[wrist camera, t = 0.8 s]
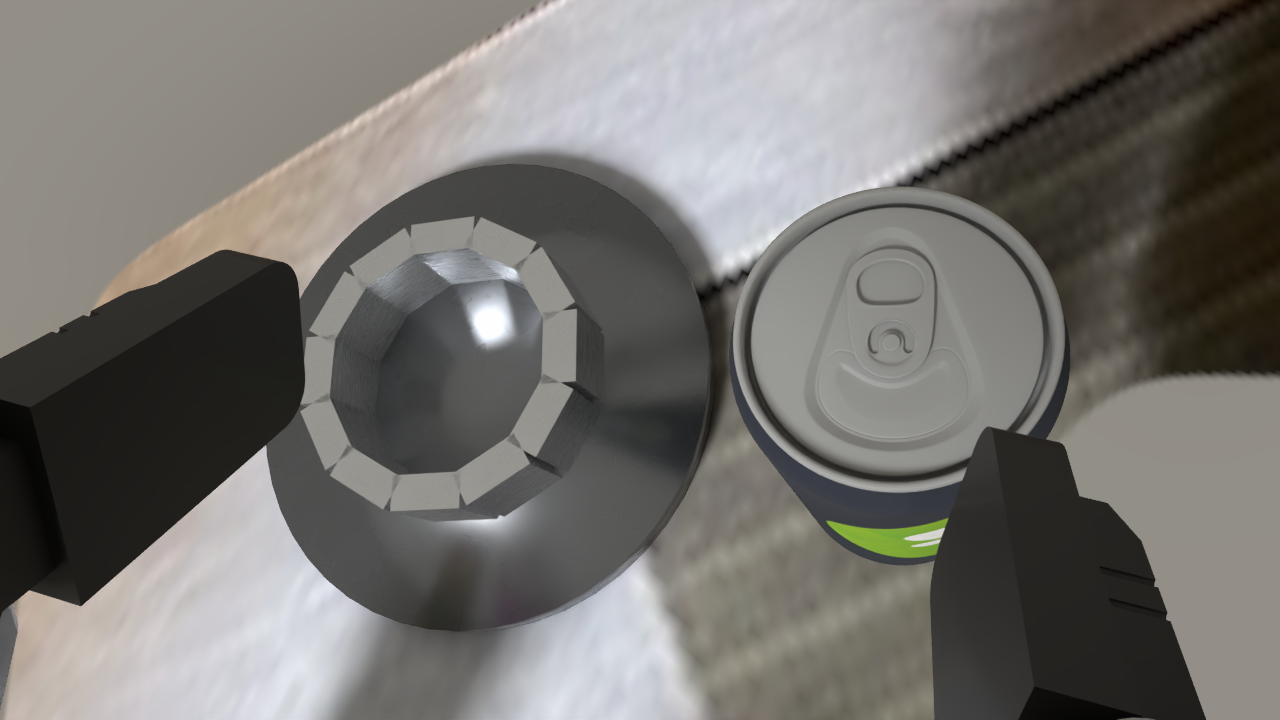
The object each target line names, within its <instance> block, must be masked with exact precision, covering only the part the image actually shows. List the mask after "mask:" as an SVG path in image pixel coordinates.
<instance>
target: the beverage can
mask: <svg viewBox="0 0 1280 720" xmlns="http://www.w3.org/2000/svg"><path fill="white" fill-rule="evenodd" d="M729 362H730V375H731V382H732V387H733V392H734V395H735V399H736V402H737V405H738V408H739V411H740V413H741V416H742V418H743V420H744V422H745V424H746V426H747V428H748V430H749V432H750V434H751V435H752V437H753V438H754V440H755V441H756V443H757V444H758V446H759V447H760V449H761V450H762V451H763V452H764V454H765V455H766V456H767V458H768V459H769V460H770V461H771V463H772V464H773V465H774V467H775V468H776V469H777V470H778V472H779V473H780V474H781V476H782V477H783V478H784V479H785V481H786V482H787V483H788V485H789V486H790V487H791V488H792V490H793V491H794V492H795V493H796V495H797V496H798V497H799V499H800V500H801V501H802V502H803V504H804V505H805V506H806V508H807V509H808V510H809V511H810V513H811V514H812V515H813V517H814V518H815V519H816V520H817V522H818V523H819V524H820V526H821V527H822V528H823V529H824V530H825V531H826V532H827V533H828V534H829V535H830V536H831V537H832V538H833V539H834V540H835V541H836V542H838V543H839V544H840V545H842V546H843V547H845V548H846V549H848V550H849V551H851V552H853V553H855V554H857V555H859V556H861V557H864V558H866V559H869V560H872V561H876V562H879V563H884V564H891V565H915V564H922V563H927V562H931V561H934V560H935V558H936V554H937V550H938V547H939V543H940V540H941V537H942V535H943V532H944V529H945V526H946V524H947V521H948V518H949V516H950V513H951V510H952V507H953V505H954V502H955V499H956V496H957V494H958V491H959V488H960V486H961V483H962V480H963V477H964V475H965V472H966V469H967V467H968V464H969V461H970V458H971V456H972V453H973V450H974V448H975V445H976V442H977V440H978V438H979V436H980V434H981V433H982V431H983V430H984V429H985V428H986V427H988V426H989V427H994V428H998V429H1002V430H1007V431H1011V432H1015V433H1020V434H1024V435H1028V436H1033V437H1037V438H1041V439H1046V438H1047V437H1048V435H1049V433H1050V432H1051V430H1052V428H1053V426H1054V424H1055V422H1056V420H1057V418H1058V415H1059V413H1060V410H1061V408H1062V405H1063V402H1064V398H1065V394H1066V391H1067V386H1068V380H1069V372H1070V344H1069V336H1068V330H1067V325H1066V322H1065V318H1064V314H1063V311H1062V306H1061V302H1060V299H1059V295H1058V292H1057V289H1056V287H1055V284H1054V282H1053V280H1052V277H1051V275H1050V273H1049V271H1048V270H1047V268H1046V266H1045V264H1044V263H1043V261H1042V259H1041V258H1040V257H1039V255H1038V254H1037V252H1036V251H1035V250H1034V248H1033V247H1032V246H1031V245H1030V244H1029V242H1028V241H1027V240H1026V239H1025V238H1024V237H1023V236H1022V235H1021V234H1020V233H1019V232H1018V231H1017V230H1016V229H1015V228H1013V227H1012V226H1011V225H1010V224H1008V223H1007V222H1006V221H1005V220H1003V219H1002V218H1000V217H999V216H998V215H996V214H994V213H993V212H991V211H990V210H988V209H986V208H984V207H982V206H980V205H979V204H976V203H974V202H972V201H970V200H967V199H965V198H962V197H959V196H956V195H953V194H950V193H946V192H942V191H937V190H932V189H926V188H918V187H884V188H876V189H869V190H864V191H860V192H856V193H852V194H848V195H845V196H842V197H839V198H837V199H834V200H832V201H829V202H827V203H825V204H823V205H821V206H819V207H817V208H815V209H813V210H811V211H810V212H808V213H807V214H805V215H803V216H802V217H800V218H799V219H798V220H796V221H795V222H794V223H792V224H791V225H790V226H789V227H787V228H786V229H785V230H784V231H783V232H782V233H781V234H780V235H779V236H778V237H777V238H776V239H775V240H774V241H773V242H772V243H771V244H770V245H769V246H768V247H767V249H766V250H765V251H764V253H763V254H762V255H761V256H760V258H759V259H758V261H757V262H756V264H755V266H754V267H753V269H752V271H751V273H750V274H749V277H748V279H747V281H746V283H745V285H744V288H743V290H742V293H741V296H740V299H739V302H738V306H737V310H736V315H735V319H734V323H733V327H732V332H731V339H730V351H729Z"/></svg>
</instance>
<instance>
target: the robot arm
mask: <svg viewBox="0 0 1280 720" xmlns="http://www.w3.org/2000/svg"><path fill="white" fill-rule="evenodd" d="M304 389H305V365H304V352H303V339H302V326H301V312H300V299H299V287H298V281H297V277H296V275H295V272H294V271H293V269H292V268H291V267H290V266H289V265H288V264H286V263H284V262H280V261H275V260H271V259H267V258H262V257H258V256H254V255H249V254H245V253H240V252H236V251H232V250H221V251H218V252H216V253H214V254H212V255H210V256H208V257H206V258H204V259H202V260H201V261H199V262H197V263H195V264H193V265H191V266H189V267H187V268H185V269H184V270H182V271H180V272H178V273H176V274H174V275H172V276H170V277H168V278H167V279H165V280H163V281H161V282H159V283H157V284H155V285H151V286H147V287H144V288H140V289H137V290H133V291H129V292H127V293H125V294H123V295H121V296H119V297H117V298H115V299H113V300H112V301H110V302H108V303H106V304H104V305H102V306H100V307H98V308H96V309H94V310H92V311H91V314H90V316H89V317H88V316H84V315H83V316H81V317H79V318H77V319H75V320H73V321H72V322H70V323H67V324H65V325H64V326H62V327H60V331H59V332H58V333H55V332H50V333H48V334H46V335H44V336H42V337H41V338H39V339H37V340H35V341H33V342H31V343H29V344H27V345H25V346H23V347H21V348H19V349H18V350H16V351H14V352H12V353H10V354H8V355H6V356H4V357H2V358H0V709H1V705H2V700H3V696H4V691H5V687H6V682H7V677H8V673H9V668H10V664H11V659H12V655H13V650H14V646H15V641H16V637H17V631H18V622H17V617H16V614H15V611H14V607H13V603H14V602H15V601H16V600H18V599H19V598H20V597H21V596H23V595H24V594H25V593H26V592H28V591H29V590H31V591H34V592H37V593H40V594H43V595H47V596H50V597H53V598H56V599H59V600H63V601H66V602H69V603H72V604H75V605H79V606H82V605H83V604H84V603H85V602H86V601H88V600H89V599H90V598H91V597H92V596H93V595H94V594H96V593H97V592H98V591H99V590H100V589H101V588H103V587H104V586H105V585H106V584H107V583H108V582H109V581H111V580H112V579H113V578H114V577H115V576H116V575H117V574H119V573H120V572H121V571H122V570H123V569H124V568H125V567H127V566H128V565H129V564H130V563H131V562H132V561H133V560H135V559H136V558H137V557H138V556H139V555H140V554H141V553H143V552H144V551H145V550H146V549H147V548H148V547H149V546H151V545H152V544H153V543H154V542H155V541H156V540H157V539H159V538H160V537H161V536H162V535H163V534H164V533H165V532H167V531H168V530H169V529H170V528H171V527H172V526H173V525H175V524H176V523H177V522H178V521H179V520H180V519H182V518H183V517H184V516H185V515H186V514H187V513H188V512H190V511H191V510H192V509H193V508H194V507H195V506H196V505H198V504H199V503H200V502H201V501H202V500H203V499H204V498H206V497H207V496H208V495H209V494H210V493H211V492H212V491H214V490H215V489H216V488H217V487H218V486H219V485H220V484H222V483H223V482H224V481H225V480H226V479H227V478H228V477H230V476H231V475H232V474H233V473H234V472H235V471H236V470H238V469H239V468H240V467H241V466H242V465H243V464H244V463H246V462H247V461H248V460H249V459H250V458H251V457H252V456H254V455H255V454H256V453H257V452H258V451H259V450H261V449H262V448H263V447H264V446H265V445H266V444H267V443H269V442H270V441H271V440H272V439H273V438H274V437H275V436H277V435H278V434H279V433H280V432H281V431H282V430H283V429H285V428H286V427H287V426H288V425H289V423H290V422H291V421H292V419H293V418H294V416H295V415H296V413H297V411H298V409H299V406H300V404H301V401H302V398H303V394H304ZM1154 582H1155V577H1154V575H1153V572H1152V569H1151V566H1150V564H1149V561H1148V558H1147V555H1146V553H1145V550H1144V547H1143V544H1142V542H1141V540H1140V539H1139V538H1138V537H1137V536H1136V535H1135V533H1134V532H1133V531H1132V530H1131V529H1130V528H1129V527H1128V526H1127V524H1126V523H1125V522H1124V521H1123V520H1122V519H1121V518H1120V517H1119V516H1118V514H1117V513H1116V512H1115V511H1114V510H1113V509H1112V508H1111V507H1110V506H1109V504H1108V503H1105V502H1101V501H1096V500H1092V499H1088V498H1084V497H1080V496H1079V494H1078V490H1077V487H1076V483H1075V480H1074V476H1073V473H1072V469H1071V466H1070V463H1069V459H1068V456H1067V452H1066V449H1065V447H1064V445H1063V444H1061V443H1059V442H1054V441H1050V440H1046V439H1041V438H1037V437H1033V436H1028V435H1024V434H1020V433H1015V432H1011V431H1007V430H1002V429H998V428H994V427H989V426H988V427H986V428H985V429H984V430H983V431H982V433H981V434H980V436H979V438H978V440H977V442H976V445H975V448H974V450H973V453H972V456H971V458H970V461H969V464H968V467H967V469H966V472H965V475H964V477H963V480H962V483H961V486H960V488H959V491H958V494H957V496H956V499H955V502H954V505H953V507H952V510H951V513H950V516H949V518H948V521H947V524H946V526H945V529H944V532H943V535H942V537H941V540H940V543H939V547H938V550H937V554H936V558H935V563H934V568H933V573H932V580H931V591H930V607H931V634H932V661H933V688H934V715H935V720H1206V718H1205V715H1204V712H1203V709H1202V707H1201V704H1200V701H1199V699H1198V696H1197V693H1196V690H1195V687H1194V685H1193V682H1192V679H1191V677H1190V674H1189V671H1188V668H1187V665H1186V663H1185V660H1184V657H1183V654H1182V652H1181V649H1180V646H1179V644H1178V641H1177V638H1176V635H1175V632H1174V630H1173V627H1172V624H1171V622H1170V621H1167V620H1166V615H1167V610H1166V608H1165V605H1164V602H1163V599H1162V597H1161V594H1160V591H1159V589H1158V588H1157V587H1154Z"/></svg>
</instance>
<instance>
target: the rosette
mask: <svg viewBox="0 0 1280 720" xmlns="http://www.w3.org/2000/svg"><path fill="white" fill-rule="evenodd" d="M300 312H301V326H302V339H303V352H304V365H305V389H304V394H303V398H302V401H301V404H300V406H299V409H298V411H297V413H296V415H295V416H294V418H293V419H292V421H291V422H290V423H289V425H288V426H287V427H286V428H285V429H283V430H282V431H281V432H280V433H279V434H278V435H277V436H275V437H274V438H273V439H272V440H271V441H270V442H269V443H267V444H266V447H267V458H268V464H269V469H270V475H271V480H272V485H273V488H274V491H275V494H276V497H277V500H278V504H279V507H280V510H281V512H282V514H283V516H284V518H285V520H286V523H287V525H288V527H289V529H290V531H291V533H292V535H293V537H294V538H295V540H296V541H297V543H298V544H299V546H300V547H301V549H302V550H303V552H304V553H305V555H306V556H307V558H308V559H309V560H310V561H311V563H312V564H313V565H314V566H315V567H316V568H317V569H318V570H319V571H320V573H321V574H322V575H323V576H324V577H325V578H326V579H327V580H328V581H329V582H330V583H332V584H333V585H334V586H335V587H336V588H338V589H339V590H340V591H341V592H343V593H344V594H345V595H346V596H347V597H349V598H350V599H352V600H354V601H355V602H357V603H359V604H361V605H362V606H364V607H366V608H367V609H369V610H371V611H372V612H375V613H377V614H380V615H382V616H385V617H387V618H390V619H392V620H395V621H397V622H400V623H404V624H409V625H413V626H418V627H422V628H427V629H435V630H450V631H484V630H496V629H506V628H511V627H515V626H519V625H524V624H528V623H532V622H536V621H539V620H542V619H544V618H547V617H549V616H552V615H554V614H557V613H560V612H562V611H565V610H567V609H569V608H571V607H572V606H574V605H576V604H578V603H580V602H581V601H583V600H585V599H587V598H589V597H590V596H592V595H594V594H596V593H597V592H598V591H600V590H601V589H602V588H604V587H605V586H606V585H608V584H609V583H610V582H612V581H613V580H614V579H616V578H617V577H618V576H620V575H621V574H622V573H623V572H624V571H625V570H626V569H627V568H628V567H630V566H631V565H632V564H633V563H634V562H635V561H636V560H637V559H638V558H639V557H640V556H641V555H642V554H643V553H644V552H645V551H646V550H647V549H648V547H649V546H650V545H651V544H652V542H653V541H654V540H655V539H656V537H657V536H658V535H659V534H660V532H661V531H662V530H663V529H664V527H665V526H666V525H667V523H668V522H669V520H670V519H671V517H672V515H673V514H674V512H675V510H676V509H677V507H678V505H679V504H680V502H681V501H682V499H683V497H684V496H685V493H686V491H687V489H688V487H689V485H690V482H691V480H692V478H693V476H694V473H695V471H696V469H697V467H698V464H699V461H700V458H701V455H702V451H703V448H704V445H705V441H706V438H707V435H708V430H709V424H710V418H711V412H712V406H713V398H714V359H713V349H712V339H711V335H710V331H709V327H708V323H707V318H706V314H705V310H704V308H703V305H702V303H701V300H700V298H699V295H698V292H697V290H696V287H695V285H694V283H693V281H692V279H691V277H690V276H689V274H688V272H687V270H686V269H685V267H684V265H683V264H682V262H681V260H680V258H679V257H678V255H677V253H676V252H675V250H674V248H673V247H672V245H671V244H670V243H669V241H668V240H667V239H666V238H665V236H664V235H663V234H662V233H661V231H660V230H659V229H658V228H657V226H656V225H655V224H654V223H653V222H652V221H651V220H650V219H649V218H648V217H647V216H646V215H645V214H643V213H642V212H641V211H640V210H639V209H638V208H637V207H636V206H635V205H634V204H632V203H631V202H629V201H628V200H626V199H625V198H623V197H622V196H620V195H619V194H618V193H616V192H615V191H613V190H612V189H610V188H608V187H606V186H603V185H601V184H599V183H597V182H595V181H593V180H591V179H589V178H587V177H584V176H580V175H577V174H574V173H571V172H568V171H565V170H561V169H555V168H550V167H544V166H538V165H519V164H506V165H495V166H484V167H479V168H474V169H469V170H465V171H460V172H456V173H453V174H450V175H447V176H444V177H441V178H439V179H436V180H433V181H430V182H428V183H426V184H424V185H422V186H420V187H418V188H415V189H413V190H411V191H409V192H407V193H405V194H404V195H402V196H400V197H399V198H397V199H395V200H394V201H392V202H391V203H389V204H387V205H386V206H384V207H383V208H381V209H380V210H379V211H377V212H376V213H375V214H373V215H372V216H371V217H370V218H368V219H367V220H366V221H365V222H363V223H362V224H361V225H359V226H358V227H357V228H356V229H355V230H354V231H353V232H352V233H351V234H350V235H349V236H348V237H347V238H346V239H345V240H344V241H343V242H342V243H341V244H340V245H339V246H338V247H337V248H336V249H335V251H334V252H333V253H332V254H331V255H330V257H329V258H328V259H327V260H326V261H325V263H324V264H323V265H322V266H321V267H320V269H319V270H318V272H317V273H316V275H315V276H314V278H313V279H312V281H311V282H310V284H309V285H308V287H307V288H306V289H305V291H304V293H303V295H302V297H301V298H300Z"/></svg>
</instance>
